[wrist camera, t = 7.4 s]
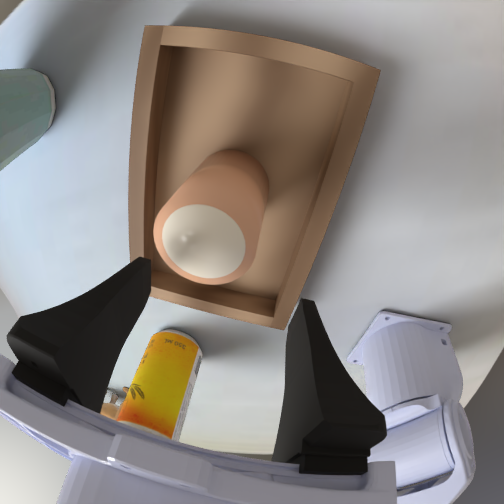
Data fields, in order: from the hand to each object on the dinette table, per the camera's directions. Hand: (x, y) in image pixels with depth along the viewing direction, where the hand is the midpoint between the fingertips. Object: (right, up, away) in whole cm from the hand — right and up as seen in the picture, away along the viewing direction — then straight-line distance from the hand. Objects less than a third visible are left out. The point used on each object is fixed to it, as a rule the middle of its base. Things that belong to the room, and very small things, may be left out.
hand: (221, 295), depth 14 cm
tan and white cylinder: (0, +6, +6) cm, 9 cm away
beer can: (-7, -8, +18) cm, 21 cm away
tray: (0, +7, +7) cm, 10 cm away
